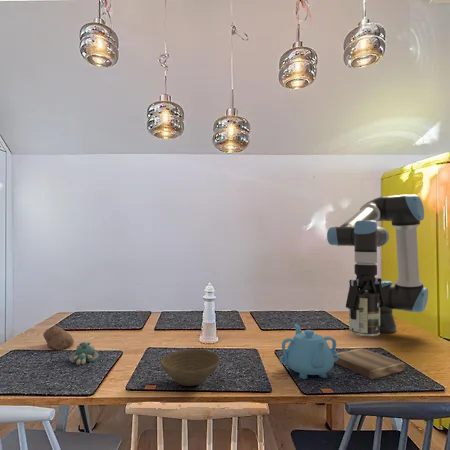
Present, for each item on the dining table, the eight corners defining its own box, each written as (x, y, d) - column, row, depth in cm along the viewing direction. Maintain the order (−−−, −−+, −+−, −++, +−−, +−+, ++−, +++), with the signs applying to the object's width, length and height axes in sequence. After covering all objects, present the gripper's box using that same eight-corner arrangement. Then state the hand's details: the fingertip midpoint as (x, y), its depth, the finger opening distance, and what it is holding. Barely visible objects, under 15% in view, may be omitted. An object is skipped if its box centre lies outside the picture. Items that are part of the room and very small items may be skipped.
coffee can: (376, 329, 132) (376, 291, 133) (382, 337, 122) (382, 295, 123) (346, 327, 134) (346, 289, 135) (350, 335, 124) (350, 294, 125)
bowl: (147, 391, 106) (148, 364, 107) (177, 369, 124) (177, 346, 124) (205, 402, 100) (205, 372, 100) (228, 377, 117) (228, 352, 117)
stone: (46, 349, 151) (35, 332, 146) (65, 334, 157) (55, 317, 152) (63, 359, 144) (53, 342, 139) (82, 343, 150) (72, 325, 146)
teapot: (323, 388, 109) (323, 341, 109) (270, 371, 122) (270, 329, 122) (346, 373, 121) (346, 331, 121) (295, 359, 134) (295, 321, 134)
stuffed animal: (63, 353, 124) (71, 336, 136) (64, 372, 126) (71, 354, 137) (96, 350, 127) (101, 335, 138) (96, 369, 128) (101, 352, 139)
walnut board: (361, 354, 139) (361, 347, 139) (404, 370, 123) (404, 362, 123) (330, 361, 132) (330, 354, 132) (372, 379, 116) (372, 371, 116)
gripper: (378, 262, 137) (378, 321, 136) (334, 264, 126) (334, 328, 126) (395, 263, 130) (396, 325, 130) (351, 265, 120) (351, 333, 119)
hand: (365, 326), depth 128 cm, fingers closed on coffee can, 10 cm apart
